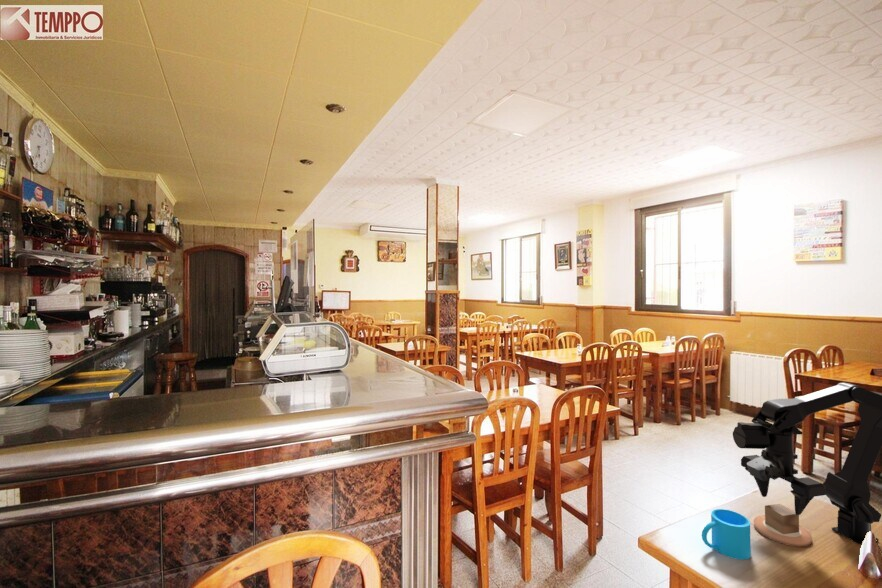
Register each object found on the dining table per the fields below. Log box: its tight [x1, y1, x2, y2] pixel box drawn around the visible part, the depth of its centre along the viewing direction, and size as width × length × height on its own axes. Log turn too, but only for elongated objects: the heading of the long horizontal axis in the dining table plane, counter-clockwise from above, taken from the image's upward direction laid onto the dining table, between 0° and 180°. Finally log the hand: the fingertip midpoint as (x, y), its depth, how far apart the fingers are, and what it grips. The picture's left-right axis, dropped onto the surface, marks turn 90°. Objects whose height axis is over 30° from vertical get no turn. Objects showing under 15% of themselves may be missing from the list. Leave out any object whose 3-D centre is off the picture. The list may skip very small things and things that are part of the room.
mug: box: [701, 508, 752, 560], centre depth 102 cm, size 12×8×8 cm
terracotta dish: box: [753, 514, 813, 548], centre depth 108 cm, size 12×12×1 cm
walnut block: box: [764, 503, 800, 534], centre depth 108 cm, size 5×5×5 cm
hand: (780, 505), depth 108 cm, fingers open, 9 cm apart
